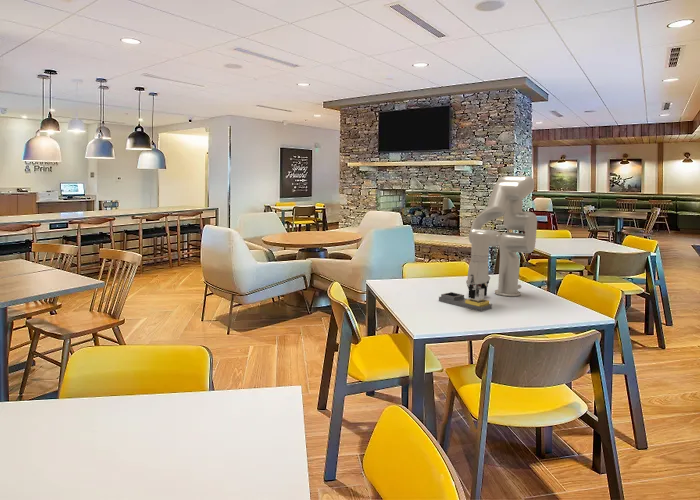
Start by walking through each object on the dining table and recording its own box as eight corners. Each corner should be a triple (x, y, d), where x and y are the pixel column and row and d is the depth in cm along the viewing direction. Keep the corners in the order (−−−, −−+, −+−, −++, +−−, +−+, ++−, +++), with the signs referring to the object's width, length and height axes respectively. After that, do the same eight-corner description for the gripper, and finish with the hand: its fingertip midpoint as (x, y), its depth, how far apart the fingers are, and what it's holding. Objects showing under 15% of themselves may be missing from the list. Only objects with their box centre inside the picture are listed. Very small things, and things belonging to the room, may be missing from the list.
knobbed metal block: (476, 301, 228) (477, 285, 226) (483, 303, 224) (484, 286, 223) (470, 303, 225) (471, 286, 224) (478, 305, 222) (479, 287, 221)
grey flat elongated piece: (449, 298, 242) (449, 291, 241) (491, 308, 224) (491, 301, 223) (438, 301, 237) (439, 293, 236) (481, 311, 219) (481, 303, 218)
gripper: (483, 256, 230) (481, 292, 233) (460, 259, 219) (458, 298, 221) (497, 258, 224) (495, 295, 227) (474, 261, 213) (472, 301, 216)
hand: (477, 296), depth 224 cm, fingers open, 8 cm apart
